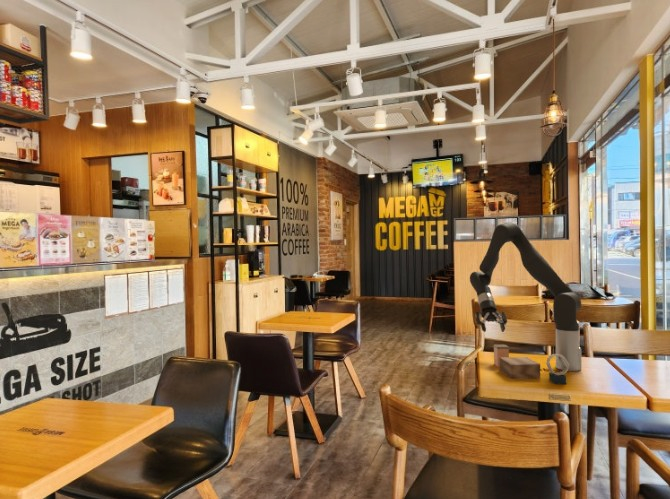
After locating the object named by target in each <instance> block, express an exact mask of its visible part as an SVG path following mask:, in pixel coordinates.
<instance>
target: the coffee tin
mask: <svg viewBox="0 0 670 499" xmlns="http://www.w3.org/2000/svg"><path fill="white" fill-rule="evenodd" d="M509 354H510V347H509V346H508V345H506V344H493V365H494V364H495V365H494V366H496V367H497V368H500V358H503V357H510V356H509Z"/></svg>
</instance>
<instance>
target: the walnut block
mask: <svg viewBox="0 0 670 499" xmlns="http://www.w3.org/2000/svg"><path fill="white" fill-rule="evenodd" d="M499 371H500V372H501V373H502V374H504V375H506V377H508V378H509V379H515V380H517V379H519V380H523V379H541V363H538V362H537V361H535V360H533V359H531V358H529V357H528V356H519V357H518V356H517V357H516V356H513V357H510V356H509V357H503V358H500V367H499Z"/></svg>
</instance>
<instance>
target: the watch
mask: <svg viewBox="0 0 670 499" xmlns="http://www.w3.org/2000/svg"><path fill="white" fill-rule="evenodd" d="M556 356H559V360H560V362H561V363H562V364H563V365H564V367H565V369H564V370H561V371H559V372H554V370H553V368H552V366H551V362H550V361H551V360H552V358H555V357H556ZM568 366H569V363H568V361H567V360H566V359H565V357H564V356H563V355H559V354H556V353H552V354H550V355H549V356H548V357H547V358H546V367H547V369H548V371H549V373H548V380H549V382H551V383H553V384H554V385H567V375H565V374H566V373H567V372H568V371H567V370H568V369H569V367H568Z"/></svg>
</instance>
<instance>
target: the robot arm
mask: <svg viewBox="0 0 670 499" xmlns="http://www.w3.org/2000/svg"><path fill="white" fill-rule="evenodd" d="M510 242H511V244H513V245H514V246H515V248H516V249H517V251H518V252H519V254H520V255H519V256H520V259H521V262H522V266H523V267H524V269H525V271H527V272H528V274H529V275H530V276H531V277H532V278H533V279H534V280H535V281H537V282H538V283H539V284H540V285H542V286H543V287H545V288H546V289H547V290H549V291H550V293H551V294H552V295H553V296H554V300H553V302H552V303H553V304H552V307H553V309H552V312H553V314H552V315H553V322H554V325H555V354H559V355H563V356H564V357H565V359H566V360H567V361H568V363H569V366H568V367H569V369H568V370H567V372H577V371H582V348H581V347H580V324H579V323H578V320H577V312H578V311H579V310H581V308H582V300H581V298H580V296H579V295H578V294H577V293H576V292H574V290H573V289H572V288H571V287H569V286H568V285H567V284H566V283H565V282H564V280H563V279H562V278H561V277H560V276H559V275H558V274H557V272H556V271H555V270H554V269H553V268H552V266H551V265H550V264H549V263H548V261H547V260H546V259H545V258H544V257H543V256H542V254H540V252H539V251H538V250H537V249H536V248H535V246H533V244H532V243H531V242H530V240H529V239H528V237H527V236H526V235H525V233H524V232H523V230H522V229H521V228H520V226H519V225H518V224H517V223H515V222H513V221H507V222H504V223H501V224H498V225H497V226H496V227H495V228H494V230H493V233H492V235H491V240H490V242H489V245H488V248H487V251H486V254H484V257H483V259H482V261H481V262H480V265H479V266H478V267H479V268H478V269H479V270H480V271H473V272H471V273H470V275H469V282H470V284H471V286H472V288H473V289H474V291H475V293H476V296H477V301H478V306H479V310H480V312H479V311H476V313H475V315H474V316H475V323H476V325H477V326H478V325H479V326H480V327H481V331H482V332H483V333H485V332H487V328H486V322H495V323H496V324H498V325H499V326H500V331H501V333H504V332H505V331H506V325H507V323H508V319H507V317H506V314H505V311H501V312H499V311H498V310H497V306H496V303H495V302H496V301H495V299H494V297H493V294H492V291H491V290H492V289H491V287H490V284H491V282H492V277H493V276H492V275H493V273H494V270H495V268H496V267H497V265H498V264H499V260H500V252H501V249H502V247H503V246H504V245H505V244H506V243H510ZM480 317H481V318H482V320H481V319H480ZM555 368H556V369H558V370H561V371H563V370H564V369H565V367H564V365H563V364H562V363H561V362H560V360H559V356H555Z"/></svg>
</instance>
